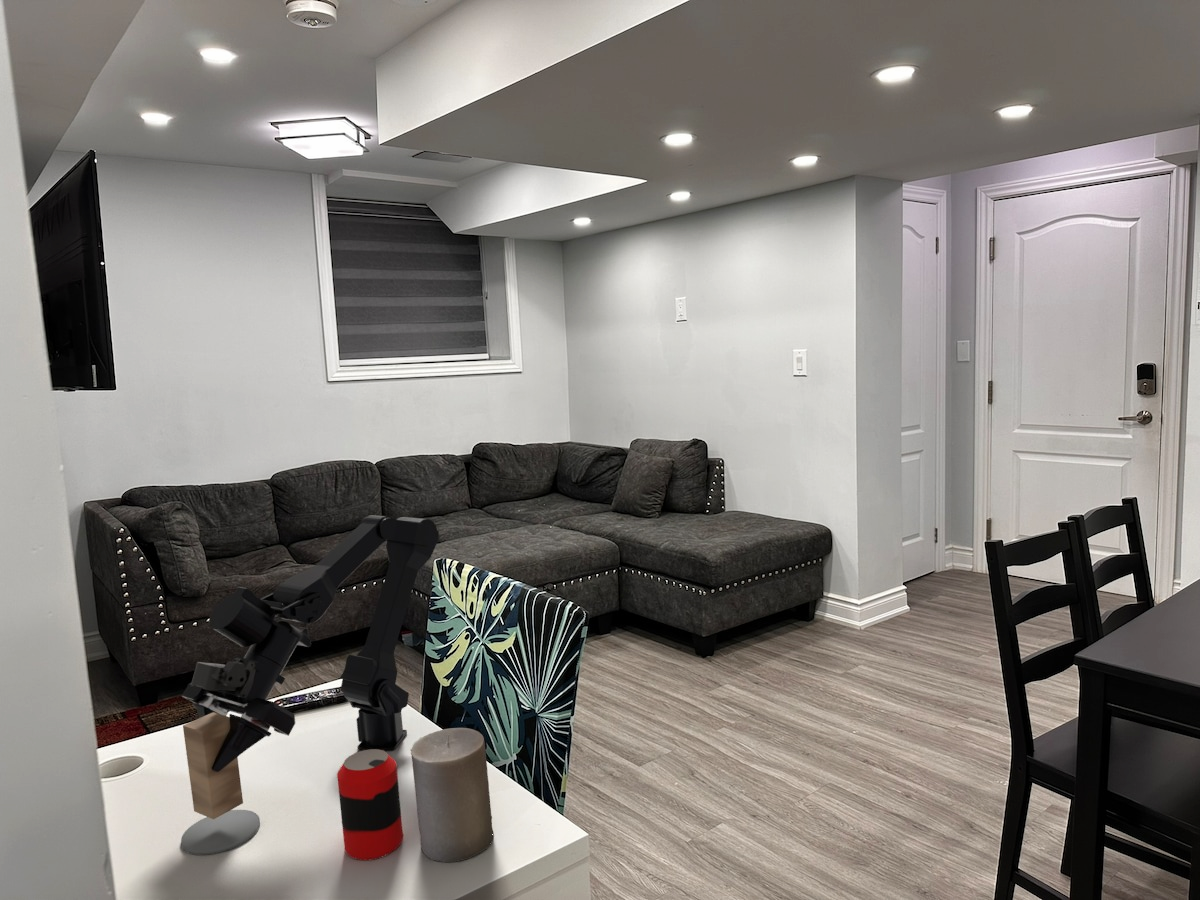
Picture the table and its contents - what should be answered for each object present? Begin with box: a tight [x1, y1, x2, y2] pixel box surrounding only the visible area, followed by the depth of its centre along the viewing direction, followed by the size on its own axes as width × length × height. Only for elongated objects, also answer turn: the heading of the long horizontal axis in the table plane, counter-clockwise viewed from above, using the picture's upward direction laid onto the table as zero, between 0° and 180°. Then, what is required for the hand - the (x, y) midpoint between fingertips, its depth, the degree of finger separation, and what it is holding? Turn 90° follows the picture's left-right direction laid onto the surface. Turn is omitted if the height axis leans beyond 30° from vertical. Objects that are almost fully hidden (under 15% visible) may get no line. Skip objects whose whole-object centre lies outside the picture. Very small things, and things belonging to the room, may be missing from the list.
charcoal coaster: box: [180, 809, 261, 856], centre depth 117 cm, size 10×10×1 cm
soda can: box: [336, 749, 404, 861], centre depth 112 cm, size 8×8×12 cm
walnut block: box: [182, 712, 244, 819], centre depth 116 cm, size 4×4×12 cm
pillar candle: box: [410, 727, 495, 863], centre depth 111 cm, size 10×10×15 cm
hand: (204, 766), depth 115 cm, fingers closed on walnut block, 4 cm apart
